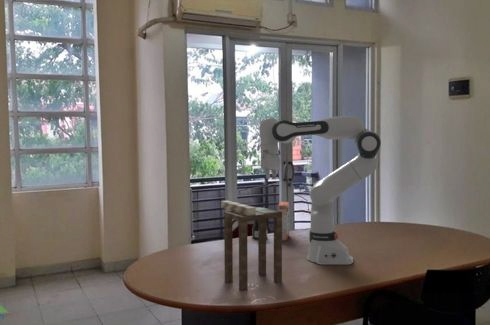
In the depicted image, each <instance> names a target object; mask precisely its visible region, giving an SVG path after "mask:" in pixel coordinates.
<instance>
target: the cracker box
mask: <svg viewBox="0 0 490 325" xmlns="http://www.w3.org/2000/svg"><path fill="white" fill-rule="evenodd" d="M290 204H291V203H290V201H280V202H279V203H278V205H277V211H280V212H282V242H283V241H284V242H286V241H288V238H289V236H290V208H291V207H290Z"/></svg>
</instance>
